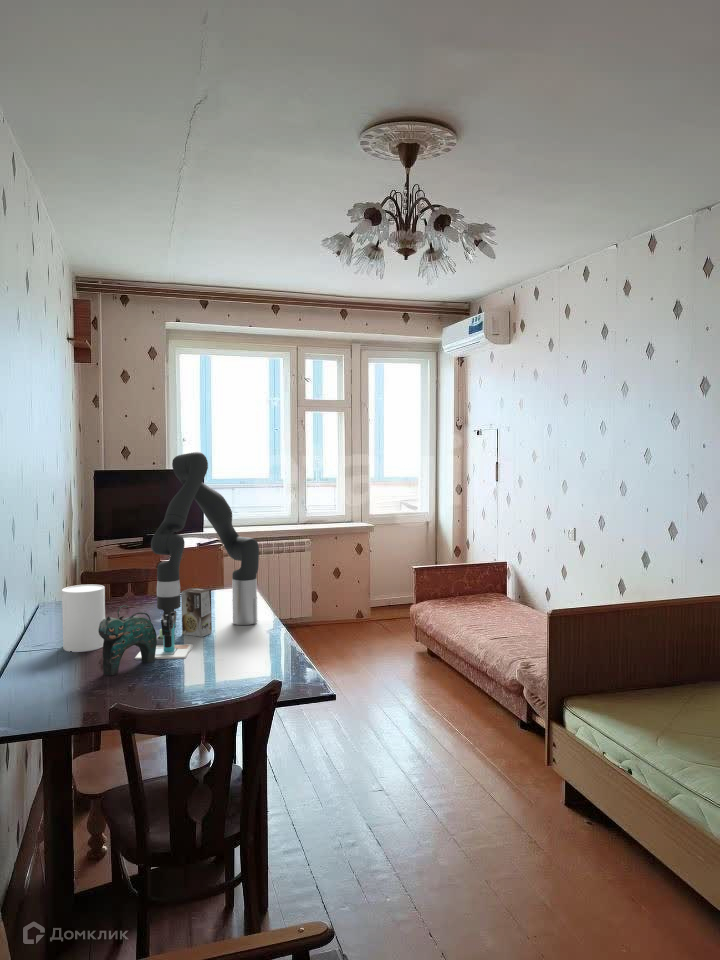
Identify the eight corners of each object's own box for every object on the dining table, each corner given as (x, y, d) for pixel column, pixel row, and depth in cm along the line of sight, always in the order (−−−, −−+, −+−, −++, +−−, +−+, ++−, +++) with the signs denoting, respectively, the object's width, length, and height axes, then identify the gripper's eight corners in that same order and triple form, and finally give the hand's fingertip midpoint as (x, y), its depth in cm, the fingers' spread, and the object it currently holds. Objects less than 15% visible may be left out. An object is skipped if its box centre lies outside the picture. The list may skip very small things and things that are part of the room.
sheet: (192, 646, 242) (192, 644, 242) (185, 658, 228) (185, 656, 228) (145, 647, 241) (144, 645, 241) (134, 659, 227) (134, 657, 227)
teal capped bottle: (175, 648, 236) (175, 618, 235) (173, 651, 232) (173, 621, 232) (164, 648, 235) (164, 619, 235) (162, 651, 232) (161, 621, 231)
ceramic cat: (108, 678, 209) (107, 611, 208) (94, 674, 212) (93, 608, 211) (160, 661, 226) (159, 599, 225) (146, 657, 229) (145, 596, 228)
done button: (171, 636, 247) (171, 628, 247) (169, 639, 243) (169, 630, 243) (160, 636, 247) (160, 628, 247) (158, 639, 243) (158, 631, 243)
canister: (98, 651, 236) (97, 592, 235) (57, 652, 236) (56, 592, 235) (110, 640, 250) (109, 584, 249) (71, 641, 249) (69, 584, 248)
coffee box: (212, 633, 259) (212, 589, 258) (201, 637, 253) (201, 592, 253) (192, 630, 263) (191, 587, 262) (181, 634, 257) (180, 590, 256)
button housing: (175, 641, 248) (175, 634, 248) (172, 646, 242) (172, 639, 242) (158, 641, 248) (157, 634, 248) (154, 646, 242) (154, 639, 242)
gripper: (176, 598, 226) (176, 651, 227) (183, 589, 240) (184, 639, 241) (152, 598, 226) (153, 651, 226) (161, 589, 240) (162, 639, 240)
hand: (169, 645), depth 234 cm, fingers closed on teal capped bottle, 3 cm apart
